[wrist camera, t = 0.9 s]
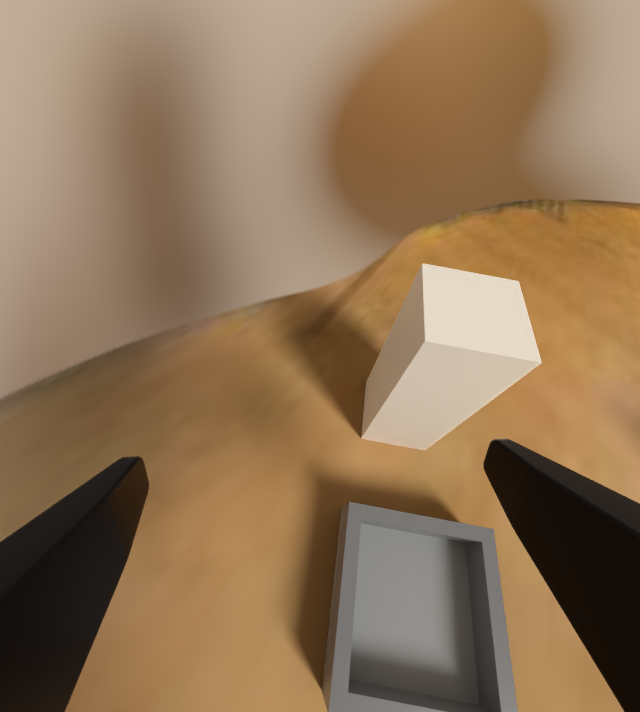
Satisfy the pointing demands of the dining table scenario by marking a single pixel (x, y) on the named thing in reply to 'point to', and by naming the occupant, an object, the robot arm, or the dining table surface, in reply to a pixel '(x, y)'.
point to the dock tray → (416, 617)
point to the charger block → (447, 356)
